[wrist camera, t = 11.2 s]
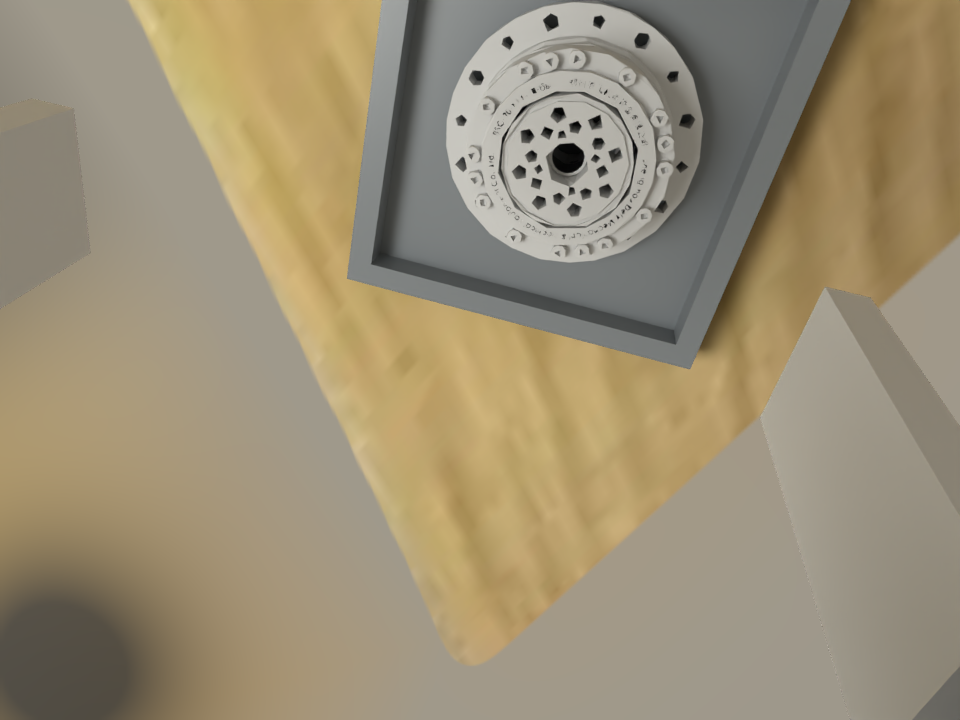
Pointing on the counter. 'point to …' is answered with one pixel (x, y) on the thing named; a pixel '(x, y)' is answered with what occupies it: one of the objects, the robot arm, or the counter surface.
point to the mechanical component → (574, 132)
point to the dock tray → (613, 279)
